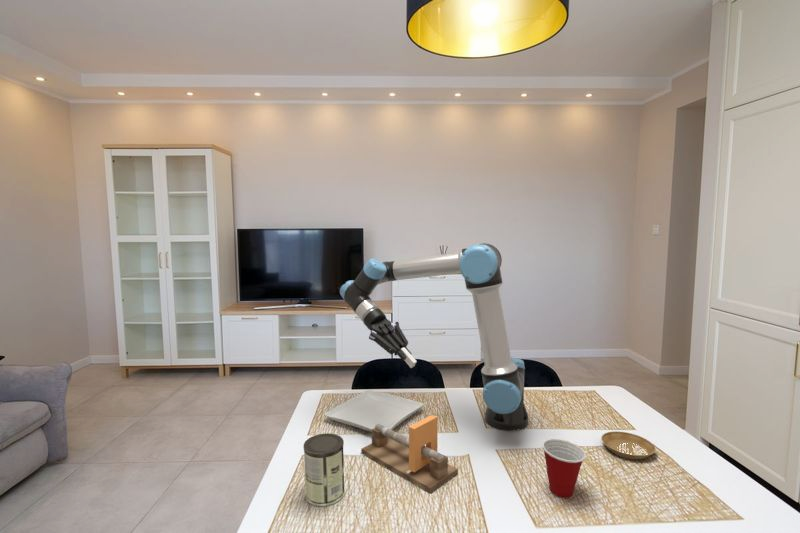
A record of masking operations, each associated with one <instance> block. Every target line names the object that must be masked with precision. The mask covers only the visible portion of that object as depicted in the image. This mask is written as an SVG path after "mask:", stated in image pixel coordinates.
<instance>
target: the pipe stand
mask: <svg viewBox="0 0 800 533" xmlns="http://www.w3.org/2000/svg"><path fill="white" fill-rule="evenodd" d="M360 450H361V452H360V453H361V454H362V456H364V457H367V458H368V459H370V460H372V461H374V462H375V463H378V464H379V465H381V466H382V467H384V468H386V469H387V470H390V471H391V472H393V473H394V474H396V475H399V477H401V478H403V479H404V480H407V481H408V482H410V483H411V484H413V485H415V486H416V487H419V488H420V489H421V490H423V491H425V492H427V493H429V494H432V493H433V492H435V491H436V490H437V489H440V488H441V486H444V484H446V483H447V482H448V481H450V480H451V479H453V478H454V477H456V476H457V475H458V474H459V468H458V467H455V466H453V465H451V464H449V457H448V456H446V455H445V454H442V453H440V452H438V451H437V452H436V451H434V450H432V449H430V448H428V447H426V445H424V446H422V447H421V456H422V455H424V456H426V457H428V458H430V463H429V464H427V465H425V466H424V467H422V468H421V469H419V470H418V471H416V472H412V471H411V470H409V437H408V436H405V435H403V434H401V433H399V432H397V431H395V430H394V429H392V430H391V429H389V428H387V427H385V426H383V425H380V424H377V425H376V426H375V428H373V429H372V432H371V443H370V444H368V445H366V446H364V447H362V448H360Z"/></svg>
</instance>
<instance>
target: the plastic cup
mask: <svg viewBox="0 0 800 533" xmlns="http://www.w3.org/2000/svg"><path fill="white" fill-rule="evenodd" d="M541 446H542V449H543V453H544V460H545V467H546V473H547V474H546V475H547V478H548V485H549V490H550V492H551V493H552V494H553V495H554V496H557V497H558V498H564V499H565V498H567V499H568V498H570V497H572V496H573V495H574V493H575V488H576V484H577V483H578V482H577V481H578V478H579V474H580V470H581V466H582V464H583V462H584V460H585V459H587V453H586V452H585V450H584V449H583V448H582V447H581V446H580V445H578V444H576V443H573V442H571V441H569V440H565V439H561V438H548V439H545V440H544V441H543V442H542V445H541Z"/></svg>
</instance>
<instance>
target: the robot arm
mask: <svg viewBox="0 0 800 533" xmlns="http://www.w3.org/2000/svg"><path fill="white" fill-rule="evenodd" d="M502 260H503V259H502V255H501V252H500V251H499V249H498V248H497V247H495V246H494V245H493V244H491V243H484V242H483V243H479V244H474V245H471V246H469V247H467V248H462V249H460V250H459V251H458V252H451V253H449V252H448V253H444V254H442V253H441V254H435V255H429V256H422V257H415V258H413V257H412V258H407V259H399V260H393V261H392V260H391V261H383V262H382V261H381V260H379V259H376V258H370V259H368V261H367V262H366V263H365V264H364V266H363V268H362V269H361V271H360V272H359V274H358V275H357V276H356V278H355V280H353V279H352V280H347V281H345V283H344V284H342V285H341V286H340V289H339V294H340V296H341V298H342V299H343V301H344V302H345V303H346V304H347V305H348V307H350V308H351V310H352V311H353V312H354V313H355V315H356V316H357V317H358V318H359V320H360V321H361V322H362V323H363V325H364V326H366V328H367V329H368V330H369V331H370V333H369V336H368V339H369V340H370V341H373V342H375V343H376V345H379V346H380V348H382V349H384V351H386V352H387V353H388V354H389V355H394V356H398V357H399V358H400V360H402V361H405V363H406V364H407V365H408V367H409V368H410V369H413V368H414V367H415V366H416V364H417V359H415V357H414V356H413V355H412V352H411V351H410V349H408V348H407V346H408V345H409V340H408V339H407V338H406V335H405V333H404V332H403V331H402V329H401V327H400V323H399V321H395V322H391V321H390V320H389V319H388V318H387V316H386V314H385V313H384V312H383V311H382V310H381V309H380V308H379V306H378V305H376V303H375V302H374V300H372V298H371V297H370V295H371V294H372V293H373V291H374V290H375V288H377V286H378V285H381V284H383V283H387V282H395V281H396V282H397V281H402V280H413V279H420V278H430V277H437V276H438V277H439V276H447V275H456V274H457V275H458V274H461V276H462V277H463V278H464V283H465V288H466V290H467V291H468V292H470V293H471V294H472V295H471V296H472V301H473V307H474V311H475V312H474V313H475V318H476V323H477V328H478V334H479V340H480V345H481V350H482V356H483V361H484V362H483V364H484V365H483V366H482V368H481V369H480V372H481V376H482V383H483V389H482V399H483V402H484V404H485V405H486V409H485V412H484V421H485V422H486V424H488V425H489V426H491V427H493V428H495V429H499V430H503V431H520V430H523V429H525V428H527V427H528V425H529V415H528V411H527V408H526V404H525V400H524V397H525V370H526V367H525V362H524V360H523V359H520V358H518V357H513V356H511V351H510V346H509V341H508V340H509V339H508V334H507V328H506V324H505V318H504V311H503V307H502V306H503V305H502V301H501V294H500V288H501V286H502V285H503V278H502V273H501V266H502Z"/></svg>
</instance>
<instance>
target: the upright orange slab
mask: <svg viewBox="0 0 800 533" xmlns="http://www.w3.org/2000/svg"><path fill="white" fill-rule="evenodd" d="M408 438H409V470H411V471H412V472H416V471H418V470H419V469H421V468H422V467H424V466H425V465H427V464H429V463H430V458H428V457H426V456H424V455H422V456H421V447H422V446H424V445H425V446H426V447H428V448H430V449H432V450H434V451H436V452H438V416H436V415H434V414H431V415H429V416H427V417H424V418H422V419H421V420H419V421H417V422H415V423H413V424H411V425H410V426H408Z"/></svg>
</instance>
